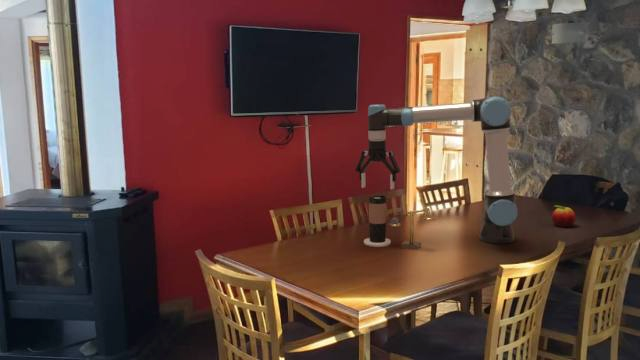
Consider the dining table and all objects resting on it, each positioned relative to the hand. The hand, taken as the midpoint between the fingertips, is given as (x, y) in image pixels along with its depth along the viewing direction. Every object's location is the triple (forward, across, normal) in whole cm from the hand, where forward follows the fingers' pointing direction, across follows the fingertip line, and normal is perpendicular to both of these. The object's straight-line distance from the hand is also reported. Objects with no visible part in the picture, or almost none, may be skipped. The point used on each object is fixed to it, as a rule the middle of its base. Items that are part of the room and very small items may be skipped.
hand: (377, 188), depth 251 cm
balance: (+25, -15, 0) cm, 30 cm away
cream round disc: (+25, +1, 0) cm, 25 cm away
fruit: (+27, -71, -67) cm, 101 cm away
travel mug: (+24, 0, 0) cm, 24 cm away
